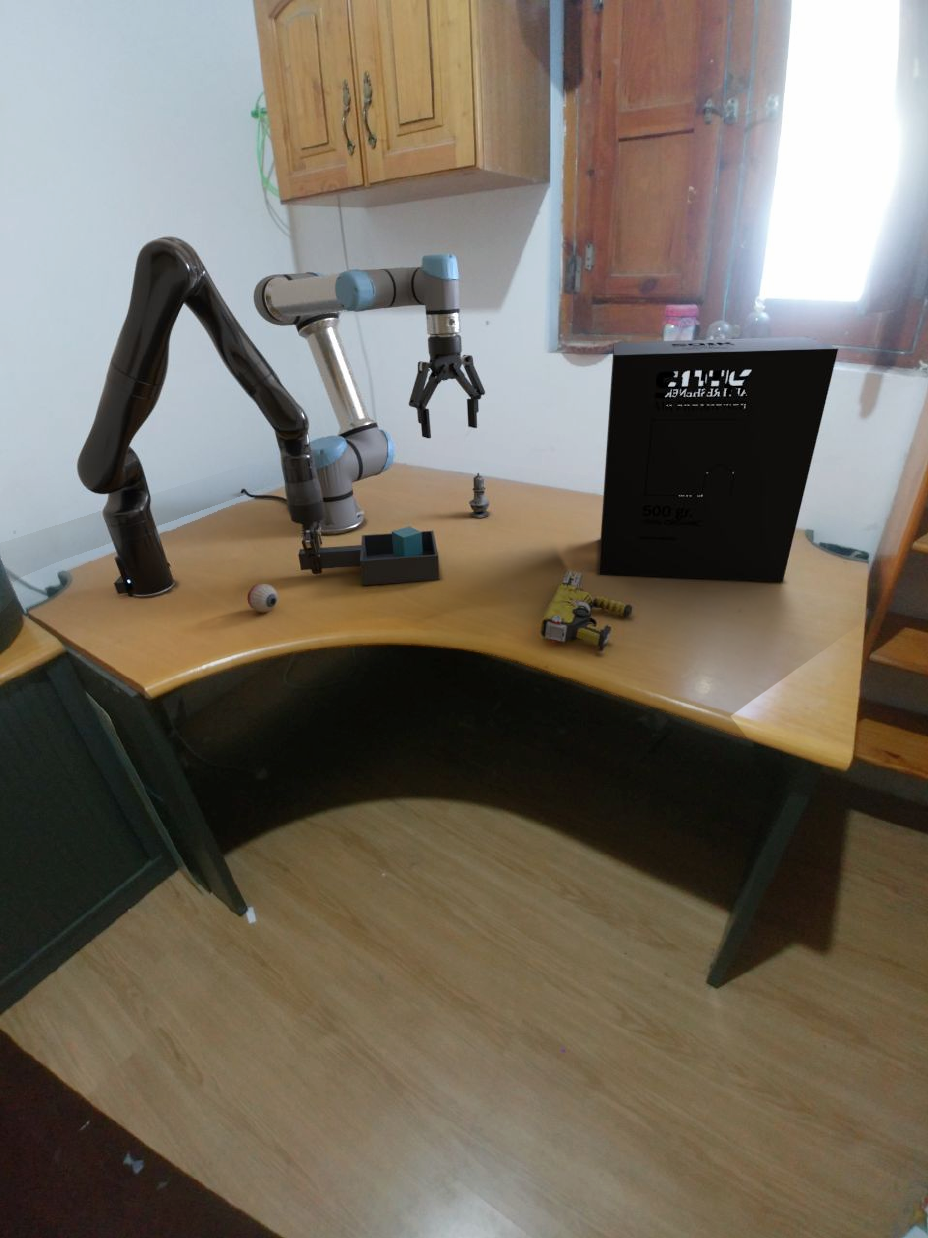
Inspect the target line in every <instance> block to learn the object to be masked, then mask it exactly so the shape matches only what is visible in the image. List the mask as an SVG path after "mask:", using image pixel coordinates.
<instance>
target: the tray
mask: <svg viewBox="0 0 928 1238" xmlns="http://www.w3.org/2000/svg"><path fill="white" fill-rule="evenodd" d="M419 531H420V532H421V533H422V548H423V556H410V557H396V558H394V553H393V542H392V532H391V533H373V534H362V535H361V541H360V544H358V545H357V544H356V545H341V546H328V547H327V546H326V547H322V548H319V554H320V562H321V567H322V570H323V569H336V568H337V569H338V568H352V567H353V568H355V567H360V574H361V584H362V586H373V585H375V586H376V585H387V584H399V583H402V584H403V583H414V582H428V581H439V580H440V570H439V569H440V566H439V554H438V553H439V552H438V547H437V543H436V538H435V531H434V530H419ZM311 554H314V553H311ZM298 561H299V566H300V570H301V571H308V570H309V571H310V570H312V569H311V564H310V560H307V558H306V554H305V551H304V548H299V551H298Z"/></svg>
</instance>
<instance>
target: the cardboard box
mask: <svg viewBox="0 0 928 1238" xmlns="http://www.w3.org/2000/svg"><path fill="white" fill-rule="evenodd" d="M612 347H613V348H612V363H611V375H610V376H611V377H610V393H609V407H608V423H607V437H606V452H605V469H604V482H603V495H602V497H603V498H602V514H601V525H600V526H601V527H600V545H599V570H598V571H599V575H612V576H632V577H633V576H634V577H635V576H637V577H659V578H679V579H680V578H682V579H701V580H702V579H703V580H729V581H754V582H772V583H773V582H774V583H775V582H776V583H783V582H784V579H785V574H786V570H787V567H788V563H789V557H790V553H791V549H792V545H793V541H794V537H795V536H794V535H795V532H796V527H797V524H798V519H799V515H800V511H801V506H802V503H803V500H804V499H803V498H804V495H805V490H806V486H807V483H808V477H809V474H810V469H811V466H812V465H811V464H812V460H813V456H814V453H815V448H816V444H817V439H818V436H819V431H820V428H821V423H822V419H823V415H824V411H825V406H826V403H827V398H828V394H829V391H830V386H831V382H832V377H833V373H834V370H835V364H836V360H837V357H838V353H839V348H838V347H835V346H832V345H830V344H827V343H825V342H822V341H819V340H816V339H815V338H811V337H809V336H805V335H804V336H780V337H779V336H775V337H774V336H773V337H749V338H748V337H747V338H745V337H744V338H743V337H742V338H721V339H720V338H717V339H716V338H715V339H689V340H688V339H687V340H684V339H683V340H656V341H655V340H653V341H625V342H624V341H623V342H621V341H620V342H613V346H612ZM696 371H697V372H701V373H700V376H699V375H696ZM745 371H750V372H749V373H748V374H747V375H742V374H743V372H745ZM676 372H677V375H676ZM686 372H689V373H688V381H687V385H683V382H684V381H683V380H684V376H683V375H684V374H685V373H686ZM711 372H712V373H711ZM732 373H733V378H732V381H733V382H739V381H742V382H741V385H740V384H739V385H736V384H735V385H732V384H731V383H730V378H731V374H732ZM711 374H712V375H711ZM700 382H702V385H700ZM713 382H718V385H712V384H713ZM671 383H675V385H674V386H673V385H671V386H670V384H671Z"/></svg>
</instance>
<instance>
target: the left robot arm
mask: <svg viewBox="0 0 928 1238" xmlns="http://www.w3.org/2000/svg"><path fill="white" fill-rule="evenodd" d="M184 305H185V306H186V307H187V308H188V309H189V310H190V312H192V314H193V315H194V316H195V317H196V319H197V320H198V322H199V323H200V325H201V326H202V327H203V329H204V331H205V332H206V333H207V335H208V337H209V339H210V341H211V342H212V344H213V347H214V348H215V350H216V352H217V354H218V356H219V358H220V360H221V361H222V363H223V364H224V366H225V368H226V369H227V370H228V372H229V373H230V374H231V376H232V377H233V379H234V380H235V381H236V382H237V383H238V385H239V386H240V387H241V389H242V390H243V391H244V393H245V394H246V395H247V396H248V397H249V398H250V399H251V400H252V401H253V402H254V403H255V405H256V406H257V407H258V409H259V410H260V412H261V414H262V415H263V416H264V418H265V419H266V421H267V422H268V424H269V425H270V426H271V427H272V429H273V430H274V435H275V437H276V442H277V446H278V449H279V457H280V458H279V459H280V465H281V471H282V476H283V481H284V492H285V497H286V499H287V502H288V503H287V502H286V503H287V507H288V511H289V516H290V521H292V523H294V524H298V525H300V526H301V529H300V537H301V538H302V540H301V545H302V549H304V551H305V554H306V558H307V560H310V564H311V569H310V570H311V573H312V574H313V575H320V574H322V573H323V569H322V567H321V562H320V554H319V548H323V538H322V534H321V531H320V530H321V527H320V520H322V519H323V518H324V517H325V510H324V504H323V498H322V492H321V487H320V483H319V480H318V476H317V471H316V465H315V460H314V456H313V453H312V451H311V448H310V442H311V441H310V436H309V429H310V420H309V417H308V415H307V413H306V411H305V409H304V408H303V407H302V406H301V405H300V404H299V403H298V402H297V401H296V400H295V398H294V397H293V396H292V395H291V394H290V392H289V391H288V390H287V389H286V387H285V386H284V384H283V383H282V381H281V379H280V378H279V376H278V374H277V372H275V370H274V368H273V367H272V366H271V364H270V363H269V362H268V360H267V359H266V358H265V357H264V355H263V354H262V353H261V351H260V350H259V349H258V347H257V346H256V345H255V344H254V342H253V340H251V338H250V336H249V335H248V334H247V333H246V331H245V330H244V328H243V327H242V326H241V324H240V323H239V321H238V320H237V319H236V317H235V314H234V313H233V312H232V311H231V309H230V308H229V306H228V305H227V303H226V301H225V300H224V298H223V296H222V295H221V293H220V291H219V289H218V288H217V287H216V284H215V283H214V281H213V279H212V277H211V275H210V274H209V271H208V270H207V268H206V266H205V264H204V263H203V261H202V259H201V258H200V256H199V254H198V252H197V250H195V249H194V247H193V246H192V245H190V244H189V242H186V241H185V240H184V239H182V238H179V237H177V236H172V235H169V236H167V235H166V236H161V237H159V238H156V239H152V240H150V241H148V242H147V243H145V244H144V245H143V246H142V247H141V249H140V250H139V252H138V255H137V257H136V262H135V268H134V275H133V280H132V287H131V293H130V300H129V304H128V309H127V313H126V315H125V319H124V321H123V324H122V326H121V329H120V332H119V334H118V337H117V340H116V344H115V346H114V348H113V349H114V350H113V352H112V355H111V358H110V360H109V361H110V362H109V365H108V369H107V372H106V376H105V380H104V384H103V387H102V392H101V395H100V398H99V401H98V405H97V409H96V412H95V416H94V420H93V423H92V425H91V428H90V430H89V432H88V435H87V437H86V439H85V442H84V444H83V446H82V448H81V450H80V453H79V455H78V458H77V462H76V472H77V476H78V478H79V480H80V483H82V485H83V486H84V487H85V488H86V489H87V490H88V491H90V492H91V493H94V494H96V495H97V494H98V495H107V500H106V502H105V505H104V507H103V509H102V517H103V520H104V522H105V525H106V528H107V531H108V533H109V536H110V538H111V541H112V544H113V546H114V547H113V548H114V549H115V552H116V556H115V557H114V561H115V564H116V566H117V569H118V572H119V576H118V577H117V579H116V580H115V581H114V582H113V586H114V587H115V590H116V593H117V595H127V596H128V597H134V598H138V599H148V598H154V597H158V596H162V595H163V594H166V593H168V592H170V591H171V590H173V588H174V587H175V586H176V581H175V579H174V577H173V574H172V571H171V568H172V566H171V564H170V563H169V561H168V558H167V556H166V553H165V550H164V545H163V543H162V541H161V537H160V534H159V532H158V531H159V530H158V528H157V525H156V522H155V519H154V515H153V512H152V509H151V503H152V498H151V492H150V489H149V485H148V482H147V478H146V474H145V470H144V467H143V464H142V462H141V459H140V457H139V455H138V454H137V452H135V450H134V449H133V448H132V447H131V446H130V445H131V443H132V441H133V439H134V438H135V436H136V435H137V433H138V432H139V430H140V429H141V427H142V426H143V425H144V424H145V422H146V421H147V420H148V419H149V417H150V415H151V414H152V413H153V411H154V409H155V407H156V405H157V404H158V401H159V399H160V397H161V394H162V392H163V391H162V390H163V388H164V385H165V382H166V379H167V374H168V370H169V362H170V345H171V344H170V343H171V336H172V333H173V329H174V326H175V323H176V322H177V319H178V317H179V314H180V312H181V310H182V308H183V306H184ZM311 553H314V554H311Z"/></svg>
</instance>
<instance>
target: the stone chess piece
mask: <svg viewBox="0 0 928 1238" xmlns="http://www.w3.org/2000/svg"><path fill="white" fill-rule="evenodd" d="M472 481H473V488H472V489H471V490H472V491H473V499H471V500H470V501H468V504H469V506H470V509H471V510H472V512H471V513H470V516H471V517H472V518H477V519H478V518H479V519H481V518H486V517H488V516H489V515H490V512H489V511H488V509H489V507H490V503H491V500H489V499H487V498H486V496H485V493H486V491H485V490H486V487H485V479H484V476H483V475H480V472H477V475H475V476H474V477H473V479H472Z"/></svg>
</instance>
